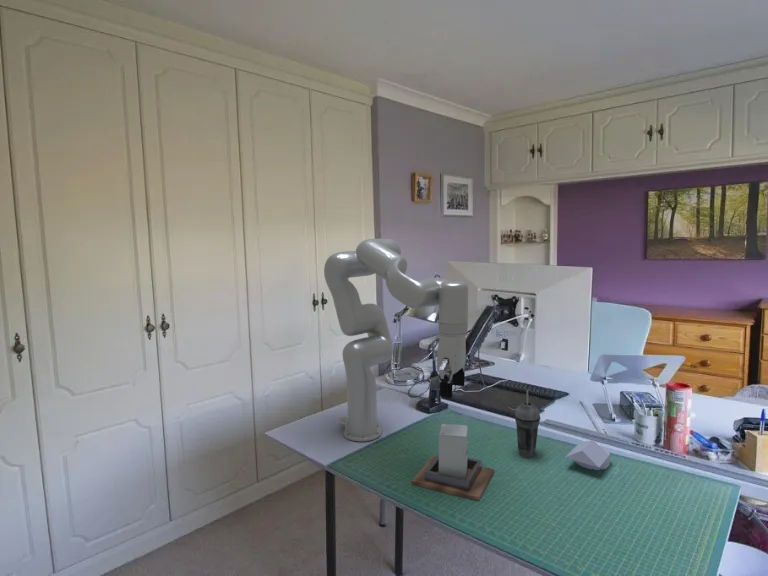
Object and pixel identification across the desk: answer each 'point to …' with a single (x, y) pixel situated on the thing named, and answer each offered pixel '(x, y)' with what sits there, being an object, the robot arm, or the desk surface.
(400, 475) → the desk surface
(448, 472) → the supplement box
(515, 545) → the desk surface
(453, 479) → the collar board
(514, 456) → the desk surface
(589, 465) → the grey faceted rock
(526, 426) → the beverage cup
